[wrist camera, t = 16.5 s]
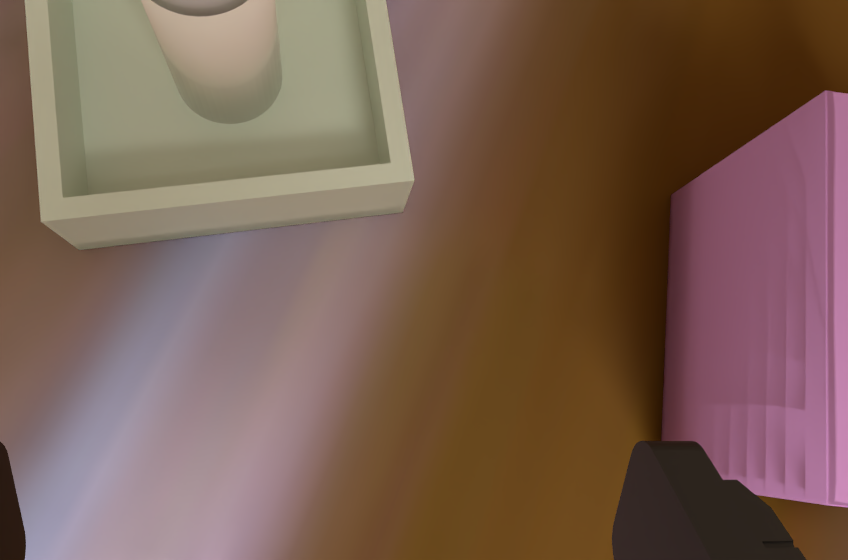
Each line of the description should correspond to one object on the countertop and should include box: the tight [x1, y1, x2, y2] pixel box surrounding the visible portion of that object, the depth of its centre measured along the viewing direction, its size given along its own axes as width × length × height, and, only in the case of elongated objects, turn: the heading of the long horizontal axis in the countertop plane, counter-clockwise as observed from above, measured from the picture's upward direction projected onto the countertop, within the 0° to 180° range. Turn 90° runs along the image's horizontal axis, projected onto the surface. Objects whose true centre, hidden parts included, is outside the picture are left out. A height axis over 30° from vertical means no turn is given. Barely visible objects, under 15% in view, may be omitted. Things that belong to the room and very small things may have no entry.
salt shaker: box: [141, 0, 283, 124], centre depth 29 cm, size 4×4×10 cm
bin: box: [25, 0, 415, 250], centre depth 32 cm, size 14×14×4 cm
